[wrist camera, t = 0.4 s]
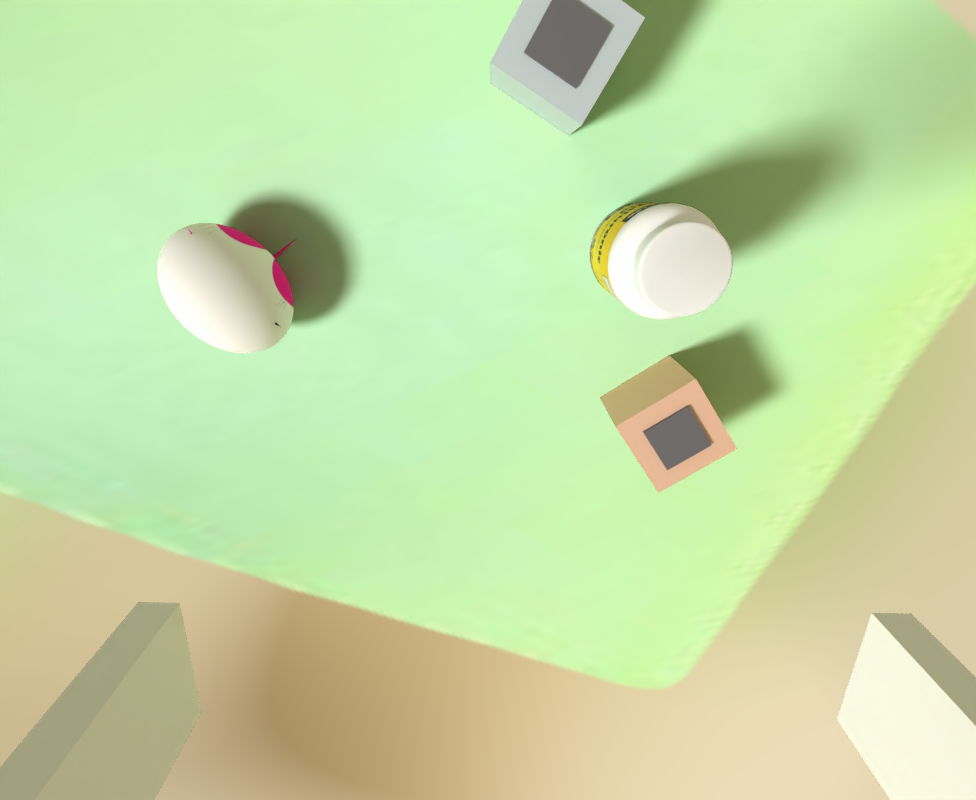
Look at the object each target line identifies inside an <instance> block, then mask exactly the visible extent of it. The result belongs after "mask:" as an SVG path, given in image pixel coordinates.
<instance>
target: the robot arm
mask: <svg viewBox="0 0 976 800" xmlns="http://www.w3.org/2000/svg"><path fill="white" fill-rule="evenodd" d="M201 713H202V711H201V706H200V702H199V696H198V692H197V687H196V682H195V677H194V672H193V667H192V662H191V657H190V652H189V647H188V642H187V637H186V632H185V628H184V623H183V618H182V613H181V608H180V603H149V602H138V603H137V604H136V606H135V607H134V608H133V609H132V610H131V612H130V613H129V614H128V615H127V616H126V618H125V619H124V620H123V621H122V622H121V624H120V625H119V626H118V627H117V628H116V630H115V631H114V632H113V633H112V634H111V635H110V637H109V638H108V639H107V640H106V641H105V643H104V644H103V645H102V646H101V647H100V649H99V650H98V651H97V652H96V653H95V655H94V656H93V657H92V658H91V659H90V661H89V662H88V663H87V664H86V666H85V667H84V668H83V669H82V670H81V671H80V673H79V674H78V675H77V676H76V677H75V679H74V680H73V681H72V682H71V683H70V685H69V686H68V687H67V688H66V690H64V692H63V693H62V694H61V695H60V697H59V698H58V699H57V700H56V701H55V702H54V704H53V705H52V706H51V707H50V709H49V710H48V711H47V712H46V713H45V714H44V716H43V717H42V718H41V719H40V720H39V722H38V723H37V724H36V725H35V726H34V728H33V729H32V730H31V731H30V732H29V733H28V735H27V736H26V737H25V738H24V739H23V741H22V742H21V743H20V744H19V745H18V747H17V748H16V749H15V750H14V752H13V753H12V754H11V755H10V756H9V757H8V759H7V760H6V761H5V762H4V764H3V765H2V766H1V767H0V800H155V798H156V797H157V795H158V793H159V791H160V789H161V787H162V785H163V783H164V782H165V780H166V778H167V776H168V774H169V772H170V770H171V769H172V767H173V765H174V763H175V761H176V759H177V757H178V756H179V754H180V752H181V750H182V748H183V746H184V744H185V743H186V741H187V739H188V737H189V735H190V733H191V732H192V730H193V728H194V726H195V724H196V722H197V720H198V719H199V717H200V715H201ZM837 720H838V722H839V723H840V725H841V726H842V728H843V729H844V731H845V732H846V734H847V735H848V737H849V738H850V740H851V741H852V743H853V744H854V746H855V747H856V749H857V750H858V752H859V753H860V755H861V756H862V758H863V759H864V761H865V762H866V764H867V765H868V767H869V768H870V770H871V771H872V773H873V774H874V776H875V777H876V779H877V780H878V782H879V783H880V785H881V786H882V787H883V789H884V790H885V792H886V794H887V795H888V797H889V798H890V800H976V677H975V676H974V675H973V674H972V673H971V672H970V671H969V670H968V669H967V668H966V667H965V666H964V665H963V664H962V663H961V662H960V661H959V660H958V659H957V658H956V657H955V656H954V655H952V654H951V653H950V651H949V650H947V649H946V648H945V647H944V646H943V645H942V644H941V643H940V642H939V641H938V640H937V639H936V638H935V637H934V636H933V635H932V634H931V633H930V632H929V631H928V630H927V629H926V628H925V627H924V626H923V625H922V624H921V623H920V622H919V621H918V620H917V619H916V618H915V617H914V616H913V615H912V614H898V613H872V614H871V617H870V620H869V623H868V626H867V629H866V632H865V636H864V639H863V642H862V645H861V648H860V651H859V654H858V657H857V660H856V663H855V666H854V669H853V672H852V675H851V679H850V681H849V684H848V687H847V691H846V694H845V697H844V700H843V703H842V706H841V709H840V712H839V715H838V718H837Z"/></svg>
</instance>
